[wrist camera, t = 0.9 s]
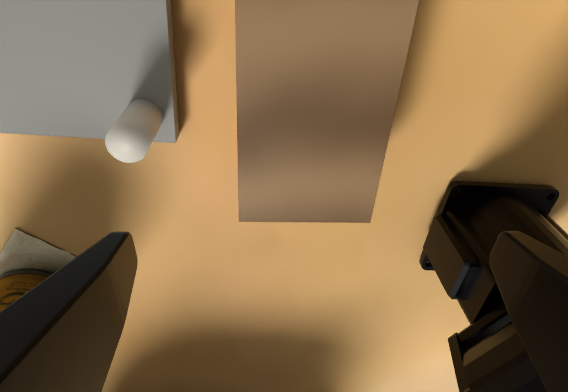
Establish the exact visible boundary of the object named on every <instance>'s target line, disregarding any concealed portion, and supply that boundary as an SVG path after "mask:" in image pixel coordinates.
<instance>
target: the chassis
mask: <svg viewBox="0 0 568 392" xmlns="http://www.w3.org/2000/svg"><path fill="white" fill-rule="evenodd" d="M0 133H10V134H28V135H45V136H62V137H80V138H97V139H105V145H106V148H107V150H108V151H109V153H110V154H111V155H112V156H113V157H114V158H116V159H118V160H120V161H122V162H126V163H134V162H138V161H140V160H141V159H143V158H144V157H145V155H146V153H147V151H148V149H149V147H150V145H151V144H152V142H167V143H176V141H177V139H178V136H179V120H178V105H177V89H176V73H175V58H174V42H173V26H172V11H171V0H0Z"/></svg>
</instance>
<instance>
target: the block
mask: <svg viewBox="0 0 568 392" xmlns="http://www.w3.org/2000/svg"><path fill="white" fill-rule="evenodd" d="M418 4H419V0H235V23H236V82H237V141H238V199H239V222H347V223H370V221H371V217H372V212H373V208H374V203H375V198H376V194H377V189H378V185H379V180H380V176H381V171H382V167H383V162H384V158H385V153H386V149H387V144H388V140H389V135H390V131H391V126H392V121H393V117H394V112H395V108H396V103H397V99H398V94H399V90H400V85H401V81H402V76H403V72H404V67H405V63H406V58H407V54H408V49H409V44H410V40H411V35H412V31H413V26H414V22H415V17H416V13H417V8H418Z"/></svg>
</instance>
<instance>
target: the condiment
mask: <svg viewBox="0 0 568 392" xmlns="http://www.w3.org/2000/svg"><path fill="white" fill-rule="evenodd" d="M75 258H76V257H75V256H73V255H71V254H70V253H69V252H68V251H63V250H60V249H58V248H55V247H53V246H51V245H49V244H47V243H46V242H44V241H42V240H40V239H37V238H34V237H32V236H30V235H27V234H25V233H23V232H21V231H19V230H17V229H15V230H14V232H13V233H12V235H11V236H10V238H9V240H8V241H7V243H6V245H5V246H4V248H3V249H2V251H1V253H0V312H1V311H2V310H4V309H5V308H6V307H8V306H9V305H11V304H12V303H13V302H15V301H16V300H17V299H19V298H20V297H22V296H23V295H24V294H26V293H27V292H29V291H30V290H31V289H33V288H34V287H36V286H37V285H38V284H40V283H41V282H43V281H44V280H45V279H47V278H48V277H50V276H51V275H52V274H54V273H55V272H56V271H58V270H59V269H61V268H62V267H63V266H65V265H66V264H68V263H69V262H70V261H72V260H73V259H75ZM38 264H44V265H42V266H39V265H38ZM32 265H36V267H32Z"/></svg>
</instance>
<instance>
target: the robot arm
mask: <svg viewBox="0 0 568 392" xmlns="http://www.w3.org/2000/svg"><path fill="white" fill-rule="evenodd" d="M457 189H460V190H459V191H457V192H455V191H456V190H457ZM548 194H549V195H548ZM547 195H548V196H547ZM558 197H559V191H558V190H556V189H555V188H554V187H553V186H546V185H526V184H507V183H488V182H468V181H455V182H453V183H451V184H450V185H449V186H448V188H447V190H446V193H445V195H444V198H443V201H442V203H441V206H440V208H439V211H438V214H437V215H436V216H435V217H434V220H433V222H432V225H431V228H430V230H429V233H428V236H427V238H426V241H425V243H424V246H423V249H424V250H423V252H422V255H421V258H420V261H419V262H420V264H421V267H422V268H423V269H424V270H435V272H436V274H437V275H438V277H439V279H440V281H441V283H442V285H443V287H444V289H445V291H446V293H447V294H448V296H449V297H450V298H451V299H457V300H458V302H459V304H460V306H461V308H462V310H463V311H464V313H465V315H466V317H467V319H468V321H469V322H470V324H471V325H470V326H468V327H467V328H465V329H464V330H463V331H461V332H460V333H455V334H454V335H452V336H451V337H449V338H448V342H449V347H450V351H451V356H452V360H453V365H454V369H455V374H456V379H457V383H458V388H459V392H568V234H567V233H566V232H565V231H564V230H563V229H562V228H561V227H560V226H559V225H558V224H557V223H556V222H555V221H554V220H552V219H551V218H550V217H549V216H548V214H549V213H550V211H551V209H552V207H553V206H554V204H555V202H556V201H557V199H558ZM427 262H428V263H427ZM136 270H137V255H136V251H135V246H134V242H133V238H132V235H131V234H130V233H129V232H111V233H110V234H108V235H107V236H105V237H104V238H102V239H101V240H100V241H98V242H97V243H95V244H94V245H93V246H91V247H90V248H89V249H87V250H86V251H84V252H83V253H82V254H80V255H79V256H77V257H76V258H75V259H73V260H72V261H70V262H69V263H68V264H66V265H65V266H63V267H62V268H61V269H59V270H58V271H56V272H55V273H54V274H52V275H51V276H50V277H48V278H47V279H45V280H44V281H43V282H41V283H40V284H38V285H37V286H36V287H34V288H33V289H31V290H30V291H29V292H27V293H26V294H24V295H23V296H22V297H20V298H19V299H17V300H16V301H15V302H13V303H12V304H11V305H9V306H8V307H6V308H5V309H4V310H2V311H1V312H0V392H101V391H102V388H103V385H104V383H105V380H106V377H107V374H108V371H109V368H110V365H111V362H112V360H113V357H114V354H115V351H116V348H117V345H118V342H119V339H120V337H121V334H122V330H123V327H124V324H125V320H126V316H127V311H128V307H129V302H130V297H131V293H132V288H133V284H134V279H135V275H136Z"/></svg>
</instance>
